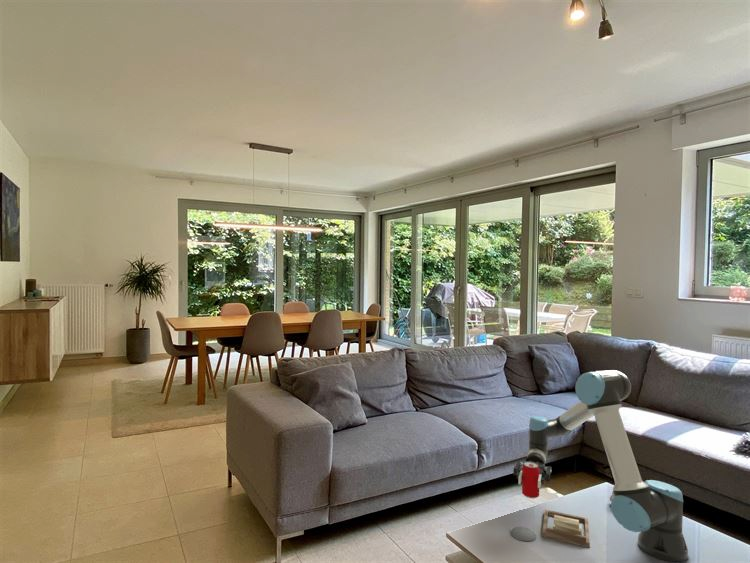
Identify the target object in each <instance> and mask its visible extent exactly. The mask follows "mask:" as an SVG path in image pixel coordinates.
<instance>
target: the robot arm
mask: <svg viewBox="0 0 750 563" xmlns="http://www.w3.org/2000/svg"><path fill="white" fill-rule="evenodd" d="M574 388H575V394H576V397H577V399H578V400H579V401H578V402H577V403H576V404H574V405H572V406H571V407H570V408H568V409H567V410H565V411H564V412H563V413H562V414H560V415H559V416H557V417H555V418H553V419H547V418H546V417H545V416H542V415H541V416H540V415H533V416H531V417H530V418H529V425H528V430H529V431H528V433H529V437H528V439H529V440H528V453H527V455H526V458H525V460H524V461H523V462H522V461H520V459H519V460H516V464H515V466H514V467H513V471H512V472H513V473H512V474H513V476H516V479H517V480H518V485H522V467H523V465H524V463H525V462H534V463H536V464H538V467H539V470H540V475H539V478H538V488H539V489H541V485H542V484H545V482H548V483H551V475H552V466H551V465H548V466H546V461H547V457H548V454H549V451H548V441H549V439H552V438H558V437H567V436H569V435H571V434H573V433H574V430H575V429H576V428H578V427H579V426H581V425H582V424H583V423H585V422H587V421H588V420H590V419H591V418H592V417H594V418H595V423H596V424H597V425H596V426H597V428H598V432H599V435H600V438H601V442H602V444H603V448H604V451H605V453H606V457H607V461H608V465H609V467H610V470H611V473H612V476H613V480H614V485H613V487H612V492H614V496H615V497H614V498H613V499H612V502H611V501H610V502H611V503H610V509H611V512H612V515H613V517H614V518H615V520H616V521H617V523H619V525H621V526H622V528H624V529H625V530H627V531H628V532H629V531H630V532H632V533H638V535H637V545H638V546H639V548H640V549H641V550H642V551H644V552H645V553H647V555H650V556H652V557H654V558H657V559H660V560H663V561H667V562H674V563H680V562H684V561H687V560H688V558H689V549H688V546H687V543H686V540H685V536H684V534H683V521H684V520H683V517H684V516H683V511H684V510H683V509H684V498H683V491H682V490H680V488H679V487H676V486H674V485H673V484H670V483H666V482H665V481H660V480H654V479H649V480H648V479H647V480H644V481H643V479H642V476H641V474H640V471H639V467H638V464H637V462H636V458H635V455H634V453H633V449H632V446H631V444H630V440H629V438H628V435H627V434H628V433H627V431H626V429H625V424H624V421H623V420H622V416H621V413H620V408H621V407H622V401H624V400H625V399H627V398H628V397H629V395H630V394H631V392H632V384H631V381H630V379H629V377H628V376H627V375H626V374H625V373H623V372H621V371H619V370H615V369H609V370H595V371H589V372H584V373H582V374H581V375H580V376H579V377H578V378H577V381H576V382H575V387H574ZM544 471H545V472H544Z"/></svg>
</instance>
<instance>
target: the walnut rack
mask: <svg viewBox="0 0 750 563" xmlns="http://www.w3.org/2000/svg"><path fill="white" fill-rule="evenodd" d="M554 515H557V516H562V517H566V518H571V519H576V520H579V523H584V532H585V535H583V534H582V535H578V534H573V533H569V532H564V531H560V530H555V529H553V528H550V527H548V519H549V518H548V516H549V517H550V516H551V517H554ZM589 525H590V524H589V518H588V517H583V516H578V515H574V514H568V513H563V512H559V511H554V510H549V509H544V516H543V523H542V533H541V534H542V537H544V538H547V539H552V540H557V541H562V542H566V543H570V544H574V545H578V546H583V547H587V548H590V547H591V546H590V528H589Z"/></svg>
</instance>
